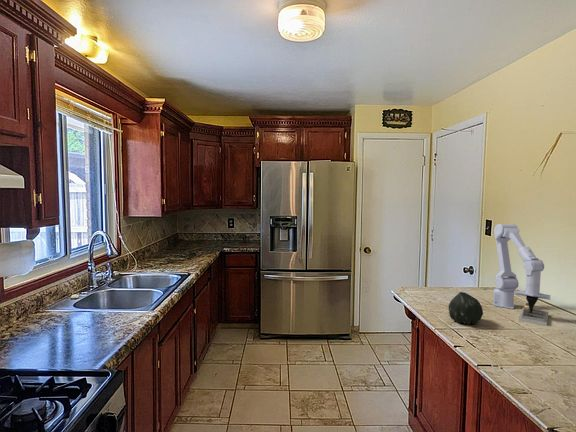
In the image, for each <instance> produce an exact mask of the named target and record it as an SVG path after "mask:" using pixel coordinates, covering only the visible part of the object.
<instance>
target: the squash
mask: <svg viewBox="0 0 576 432" xmlns="http://www.w3.org/2000/svg"><path fill="white" fill-rule="evenodd" d="M447 308H448V314H449V317H450V319H451V320H453V321H455V322H457V323H459V324H463V323H464V324H465V325H470V324H471V325H476V324H477V323H478V322H479V321H480V320H481V319H482V317H483V315H484V311H483V306H482V304H481V303H480V301H479V300H478V299H477V298H476V297H474V296H472V295H471V294H469V293H467V292H464V291H460V292H458V293H457V294H456V295H455V296H454V297H452V299H451V300H450V302H449V303H448V307H447Z"/></svg>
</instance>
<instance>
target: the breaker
mask: <svg viewBox="0 0 576 432" xmlns="http://www.w3.org/2000/svg"><path fill="white" fill-rule="evenodd" d="M523 308H524V307H523ZM523 315H524V316H528V315H529V309H526V308H524V310H523Z"/></svg>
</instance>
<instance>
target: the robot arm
mask: <svg viewBox="0 0 576 432" xmlns="http://www.w3.org/2000/svg"><path fill="white" fill-rule="evenodd" d="M493 232H494V233H493V234H494V239H495V245H496V253H497V260H498V267H499V272H498V273H497V274H496V275H495V281H494V284H495V287H496V288H494V290H493V300H492V301H493V302H492V303H493V304H492V305H493V307H500V308H503V309H504V308H507V309H509V310H510V309H511V310H514V308H515V306H516V304H514V303H515V302H514V301H515V300H514V299H515V296H524V297H525V298H526V301H527V303H528V304H529V307H530V312H532V311H533V309H534V308H535V305H536V304H537V302H538V300H539V299H542V300H547V301H551V295H550V294H544V293H541V292H540V289H541V273H542V272H543V271H544V269H545V264H544V262H543V260H541V259H539V258H538V257H537V256H536V254H534V252H533V250H532V249H531V248H530V247H529V246H526V244H525V243H524V241H523V239H522V236H521V235H520V229H519V227H518V225H517V224H515V223H511V224H509V223H508V224H507V223H505V224H504V223H503V224H501V223H497V224H496V225H495V227H494V229H493ZM510 240H511V241H512V243H513V244H514V245H515V247H516V248H517V249H518V251H517V253H518V255H519V257H520V258H521V260H522V262H523V263H524V264H523V268H524V271H525V275H526V277H525V278H526V279H525V290H517V289H518V288H519V279H518V278H517V275H516V274H515V273H514V272H513V271H512V268H511V267H512V266H511V265H512V264H511V260H510V258H511V257H510V253H509V244H508V242H509V241H510Z"/></svg>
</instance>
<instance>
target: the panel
mask: <svg viewBox="0 0 576 432" xmlns="http://www.w3.org/2000/svg"><path fill="white" fill-rule="evenodd" d="M523 310H524V307H522V309H521V311H520V313H519V316H518V321H519V322H525V323H531V324H536V325H540V326H546V327H547V326H548V320H549V311H546V310H540V309H534V308H533V311H532V312H530V310H529V315H528V316H524V315H523Z"/></svg>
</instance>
